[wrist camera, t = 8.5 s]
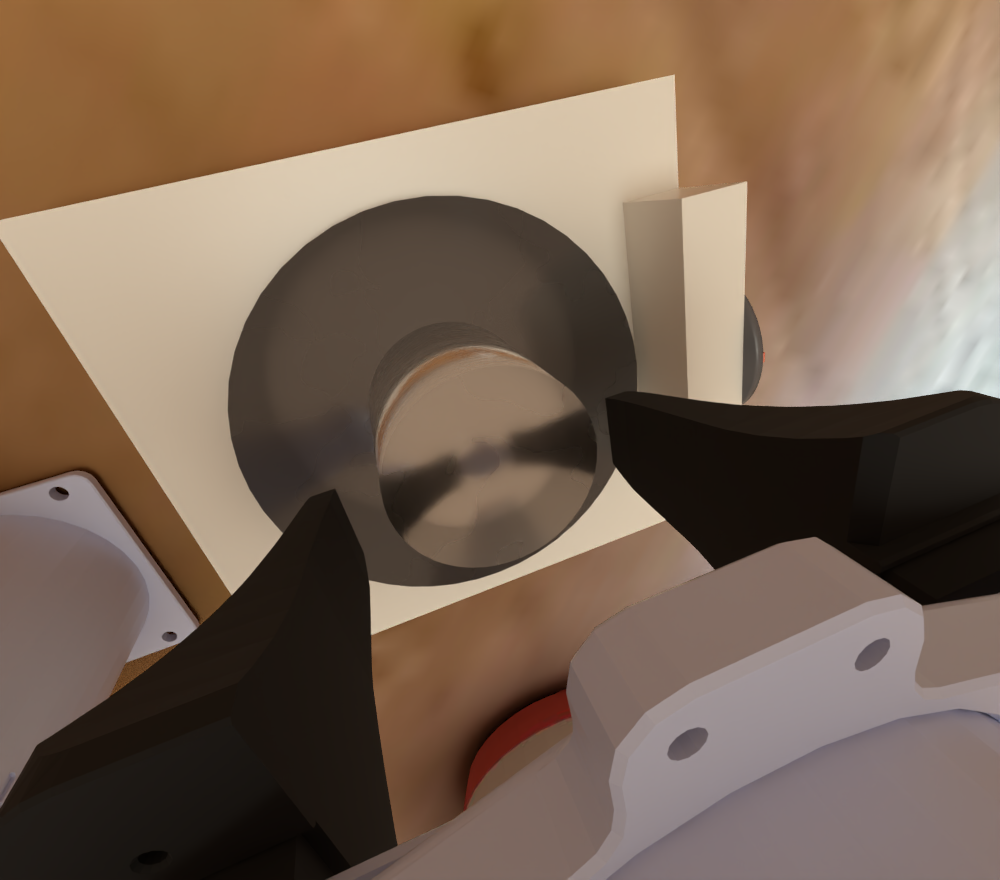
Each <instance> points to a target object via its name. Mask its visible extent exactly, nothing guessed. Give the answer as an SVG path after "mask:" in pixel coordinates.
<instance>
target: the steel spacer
mask: <svg viewBox="0 0 1000 880" xmlns="http://www.w3.org/2000/svg"><path fill="white" fill-rule="evenodd" d="M368 402H369V415H370V421H371V428H372V435H373V441H374V448H375V455H376V462H377V468H378V475H379V482H380V489H381V495H382V499H383V504H384V508H385V510H386V513H387V516H388V518H389V520H390V522H391V523H392V525H393V527H394V529H395V530H396V531H397V533H398V534H399V535H400V536H401V538H402V539H403V540H404V541H405V542H406V543H408V544H409V545H410V546H411V547H412V548H413V549H415V550H416V551H418V552H419V553H421V554H422V555H424V556H426V557H428V558H430V559H432V560H434V561H437V562H441V563H444V564H447V565H452V566H457V567H468V568H477V567H489V566H496V565H500V564H504V563H508V562H511V561H514V560H516V559H519V558H522V557H524V556H526V555H528V554H530V553H532V552H534V551H536V550H537V549H539V548H540V547H542V546H544V545H545V544H547V543H548V542H549V541H550V540H552V539H553V538H554V537H556V536H557V535H558V534H559V533H560V532H561V531H562V530H563V529H564V528H565V527H566V526H567V525H568V524H569V522H570V521H571V520H572V519H573V518H574V516H575V515H576V514H577V512H578V511H579V509H580V508H581V506H582V504H583V502H584V501H585V499H586V497H587V495H588V492H589V490H590V488H591V485H592V482H593V478H594V475H595V470H596V463H597V442H596V435H595V431H594V427H593V424H592V421H591V419H590V417H589V415H588V412H587V411H586V409H585V407H584V406H583V404H582V403H581V401H580V400H579V399H578V398H577V397H576V396H575V394H574V393H573V392H572V391H571V390H569V389H568V388H567V387H566V386H565V385H563V384H562V383H561V382H559V381H558V380H557V379H555V378H554V377H553V376H551V375H550V374H548V373H547V372H546V371H544V370H543V369H542V368H540V367H539V366H538V365H536V364H535V363H533V362H532V361H531V360H529V359H528V358H527V357H525V356H524V355H523V354H521V353H520V352H518V351H517V350H516V349H514V348H513V347H512V346H510V345H509V344H507V343H506V342H505V341H503V340H502V339H501V338H499V337H498V336H497V335H495V334H493V333H492V332H490V331H488V330H486V329H484V328H482V327H479V326H476V325H473V324H469V323H463V322H441V323H434V324H431V325H427V326H424V327H422V328H419V329H417V330H414V331H413V332H411V333H409V334H408V335H406V336H404V337H403V338H402V339H400V340H399V341H398V342H397V343H395V344H394V345H393V346H392V347H391V348H390V349H389V350H388V351H387V353H386V354H385V356H384V357H383V358H382V360H381V361H380V363H379V365H378V367H377V368H376V370H375V373H374V375H373V378H372V381H371V385H370V390H369V400H368Z"/></svg>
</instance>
